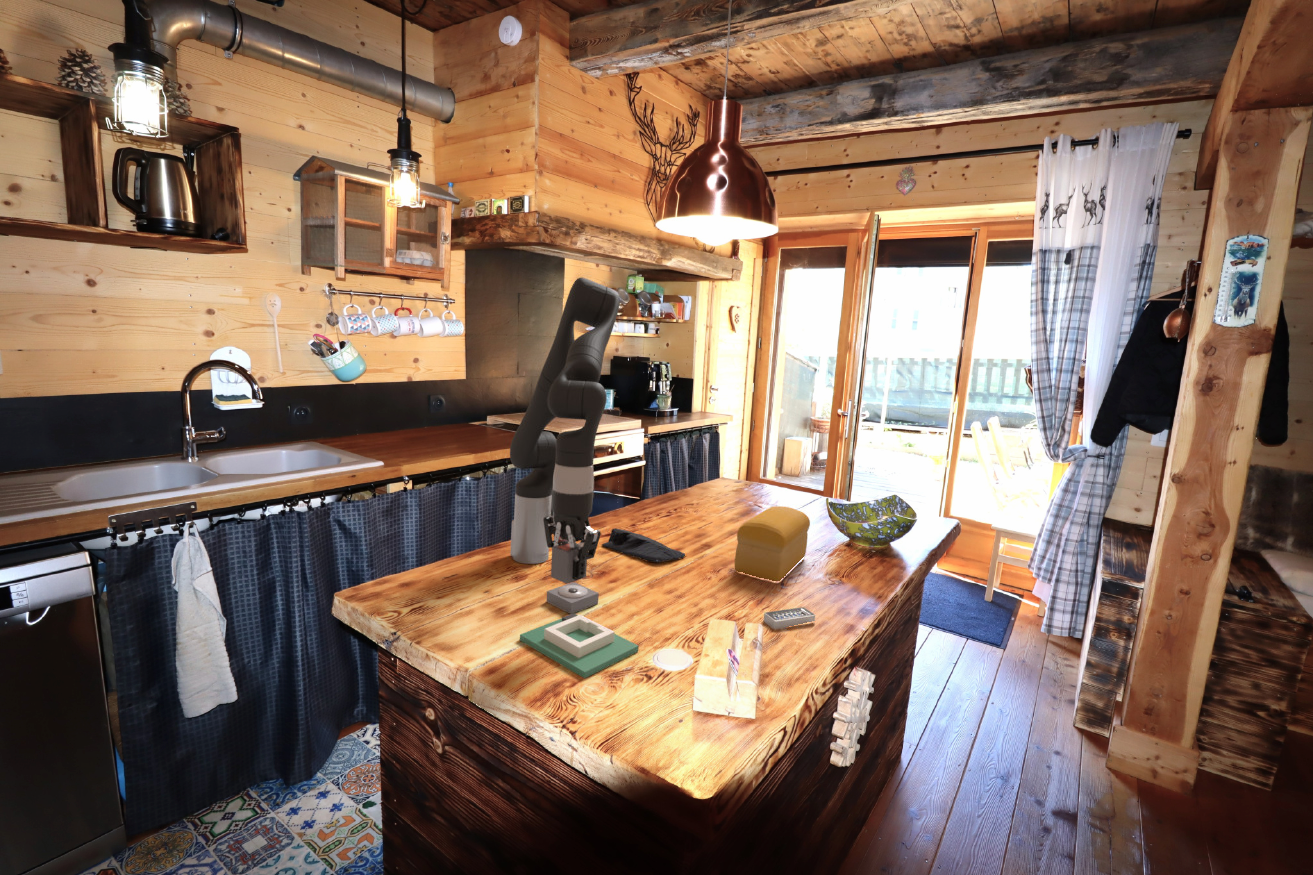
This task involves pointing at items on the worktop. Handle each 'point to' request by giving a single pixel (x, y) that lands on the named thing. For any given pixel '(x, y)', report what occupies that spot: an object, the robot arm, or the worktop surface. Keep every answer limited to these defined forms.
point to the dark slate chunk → (641, 546)
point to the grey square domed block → (572, 597)
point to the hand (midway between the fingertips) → (568, 574)
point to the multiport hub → (788, 617)
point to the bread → (772, 543)
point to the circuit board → (579, 644)
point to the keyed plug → (563, 563)
